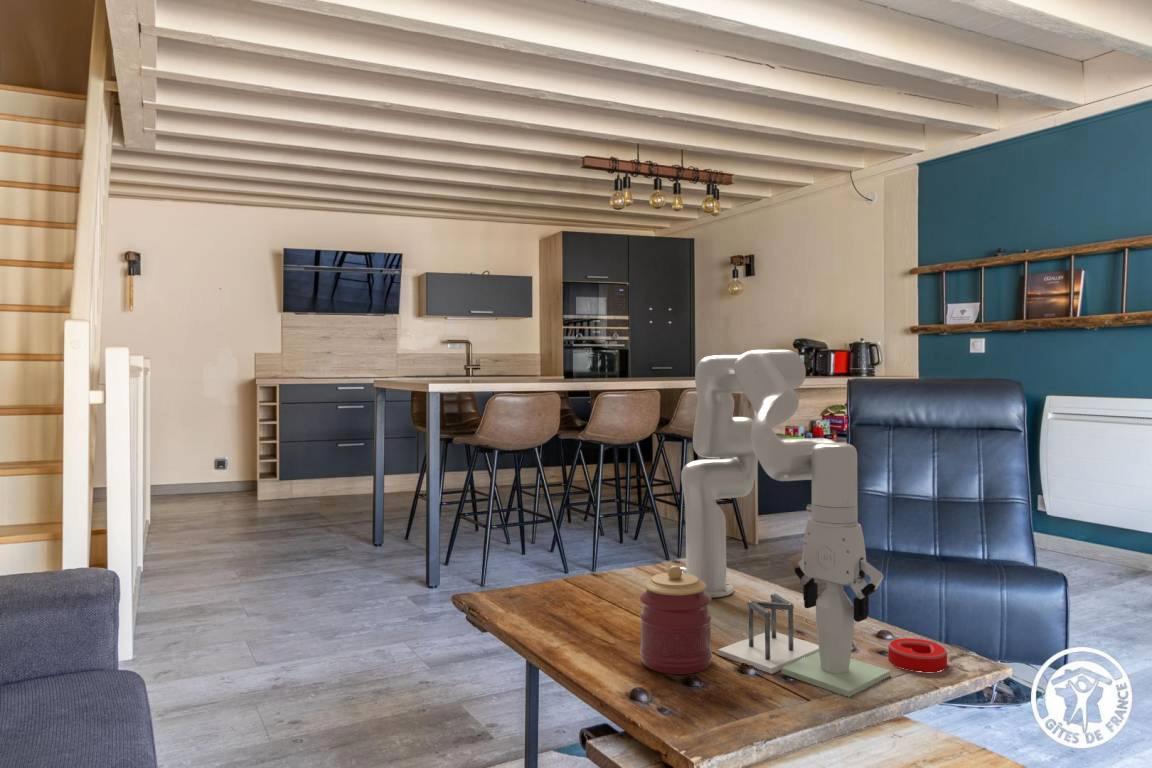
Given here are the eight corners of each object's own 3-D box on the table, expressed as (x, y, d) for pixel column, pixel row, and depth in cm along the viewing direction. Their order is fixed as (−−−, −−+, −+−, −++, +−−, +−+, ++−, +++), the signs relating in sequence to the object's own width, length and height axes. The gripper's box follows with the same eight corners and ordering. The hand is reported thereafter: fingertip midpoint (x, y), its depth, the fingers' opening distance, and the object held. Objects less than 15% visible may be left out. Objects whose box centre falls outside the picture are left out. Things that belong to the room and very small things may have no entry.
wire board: (718, 654, 143) (718, 649, 143) (770, 635, 153) (770, 630, 153) (771, 673, 134) (771, 668, 134) (823, 651, 144) (823, 646, 144)
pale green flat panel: (781, 673, 134) (781, 667, 134) (823, 655, 142) (823, 649, 142) (849, 697, 124) (849, 691, 124) (890, 676, 132) (890, 670, 132)
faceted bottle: (860, 674, 130) (861, 546, 130) (824, 676, 130) (825, 547, 129) (843, 660, 137) (844, 538, 136) (809, 662, 136) (809, 538, 135)
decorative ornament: (954, 663, 138) (954, 646, 138) (935, 679, 131) (935, 660, 131) (900, 650, 145) (900, 633, 145) (879, 664, 138) (879, 647, 138)
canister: (628, 655, 143) (627, 561, 143) (688, 645, 148) (687, 554, 148) (661, 680, 131) (660, 578, 131) (725, 669, 136) (725, 570, 136)
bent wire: (736, 649, 143) (736, 603, 142) (773, 636, 150) (772, 592, 150) (768, 660, 137) (768, 613, 137) (805, 646, 144) (804, 600, 144)
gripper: (779, 510, 137) (780, 606, 137) (869, 524, 123) (870, 630, 124) (804, 505, 142) (804, 597, 142) (893, 518, 128) (893, 620, 128)
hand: (835, 613), depth 133 cm, fingers open, 9 cm apart
